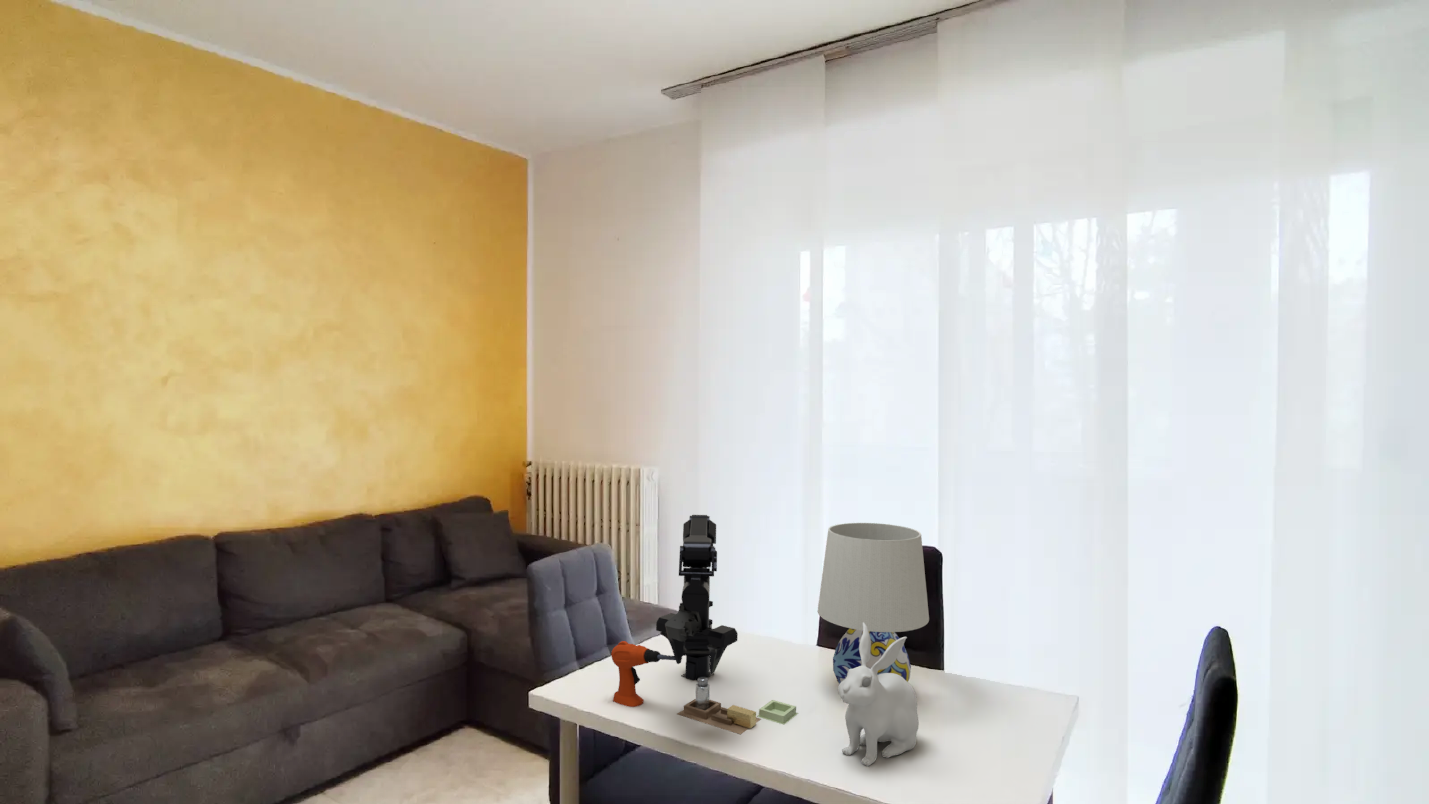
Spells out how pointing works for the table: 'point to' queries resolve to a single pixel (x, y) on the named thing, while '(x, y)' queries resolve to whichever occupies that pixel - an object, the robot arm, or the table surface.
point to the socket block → (712, 716)
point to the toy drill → (632, 670)
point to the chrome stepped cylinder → (702, 693)
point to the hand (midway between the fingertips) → (695, 668)
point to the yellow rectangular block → (741, 716)
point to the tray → (777, 712)
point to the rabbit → (879, 704)
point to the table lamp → (873, 591)
